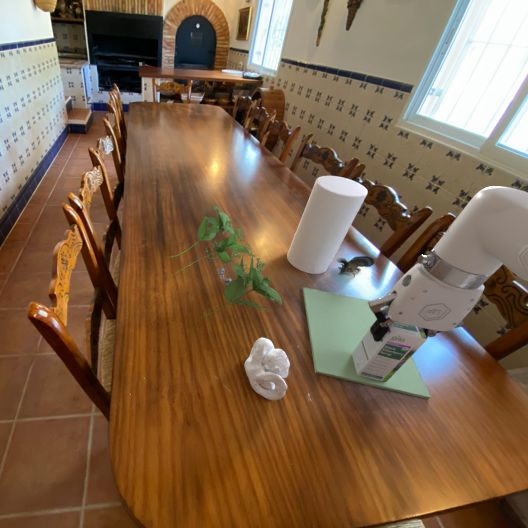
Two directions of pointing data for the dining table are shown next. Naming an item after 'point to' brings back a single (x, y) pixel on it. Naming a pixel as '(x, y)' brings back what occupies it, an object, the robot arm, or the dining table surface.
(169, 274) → the dining table surface
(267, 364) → the baby figurine
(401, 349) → the syrup box
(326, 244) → the cylinder
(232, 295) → the plant cuttings
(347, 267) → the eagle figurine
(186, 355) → the dining table surface
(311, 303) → the felt mat
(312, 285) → the dining table surface
